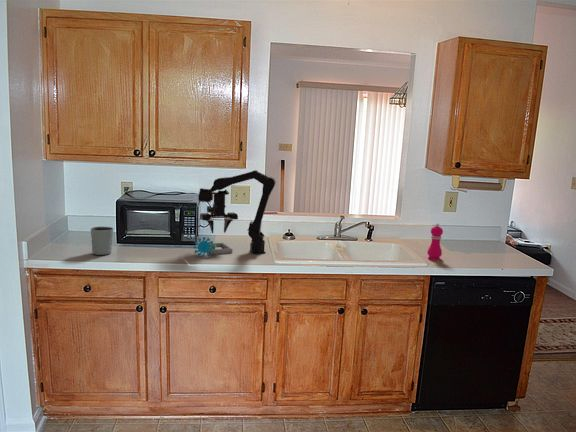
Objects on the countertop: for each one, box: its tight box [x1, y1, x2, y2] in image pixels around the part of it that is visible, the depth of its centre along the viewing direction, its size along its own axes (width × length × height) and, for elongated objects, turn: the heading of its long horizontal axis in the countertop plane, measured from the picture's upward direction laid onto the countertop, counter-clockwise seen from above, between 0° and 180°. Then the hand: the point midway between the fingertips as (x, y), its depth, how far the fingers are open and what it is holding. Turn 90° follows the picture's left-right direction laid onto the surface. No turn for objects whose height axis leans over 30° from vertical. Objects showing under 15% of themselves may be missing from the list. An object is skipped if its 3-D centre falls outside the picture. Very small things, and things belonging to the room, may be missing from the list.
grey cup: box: [90, 226, 114, 256], centre depth 232 cm, size 10×10×12 cm
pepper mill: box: [427, 223, 444, 261], centre depth 250 cm, size 7×7×20 cm
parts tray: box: [208, 242, 233, 255], centre depth 249 cm, size 11×15×2 cm
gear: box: [193, 236, 217, 257], centre depth 238 cm, size 11×6×10 cm
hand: (218, 232), depth 247 cm, fingers open, 6 cm apart
